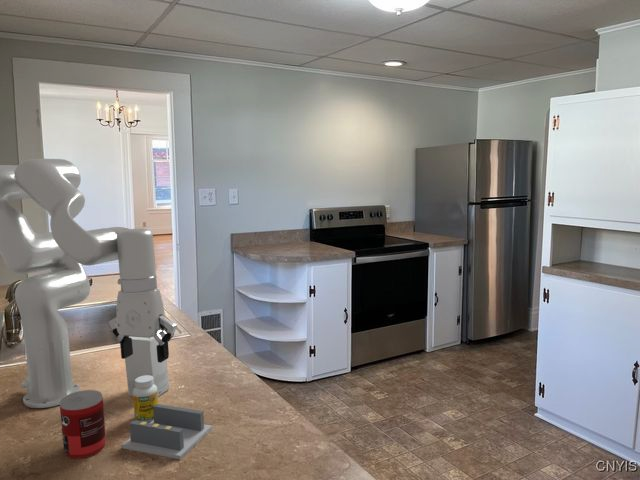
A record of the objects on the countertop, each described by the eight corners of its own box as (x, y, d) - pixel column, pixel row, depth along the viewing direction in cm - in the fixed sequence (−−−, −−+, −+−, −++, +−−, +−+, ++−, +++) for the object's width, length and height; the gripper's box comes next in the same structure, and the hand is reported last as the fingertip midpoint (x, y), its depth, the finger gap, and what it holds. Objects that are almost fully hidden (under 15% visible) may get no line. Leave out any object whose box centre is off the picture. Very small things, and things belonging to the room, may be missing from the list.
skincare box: (169, 389, 127) (166, 332, 125) (153, 401, 121) (149, 340, 118) (143, 385, 129) (139, 329, 127) (126, 396, 123) (121, 337, 121)
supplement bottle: (155, 410, 116) (153, 371, 115) (162, 419, 111) (159, 379, 110) (132, 416, 113) (129, 377, 112) (137, 426, 109) (134, 385, 107)
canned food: (73, 439, 104) (68, 390, 102) (111, 437, 104) (108, 388, 103) (57, 460, 96) (52, 408, 94) (98, 458, 97) (94, 406, 95)
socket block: (121, 448, 100) (120, 425, 99) (158, 419, 111) (156, 399, 111) (180, 459, 96) (179, 436, 95) (212, 429, 107) (211, 407, 106)
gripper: (94, 286, 107) (102, 361, 109) (161, 290, 102) (167, 368, 104) (118, 279, 114) (124, 349, 116) (182, 282, 109) (187, 355, 111)
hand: (145, 358), depth 110 cm, fingers open, 9 cm apart
